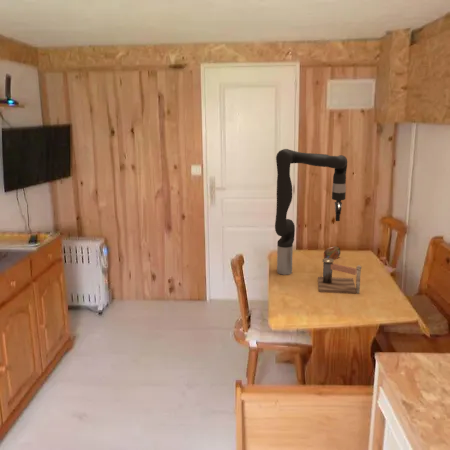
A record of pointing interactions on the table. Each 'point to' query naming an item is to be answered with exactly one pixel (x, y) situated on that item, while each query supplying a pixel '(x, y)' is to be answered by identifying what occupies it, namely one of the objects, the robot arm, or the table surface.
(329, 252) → the tin
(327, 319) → the table surface
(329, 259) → the capstan
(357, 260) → the table surface
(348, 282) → the base
